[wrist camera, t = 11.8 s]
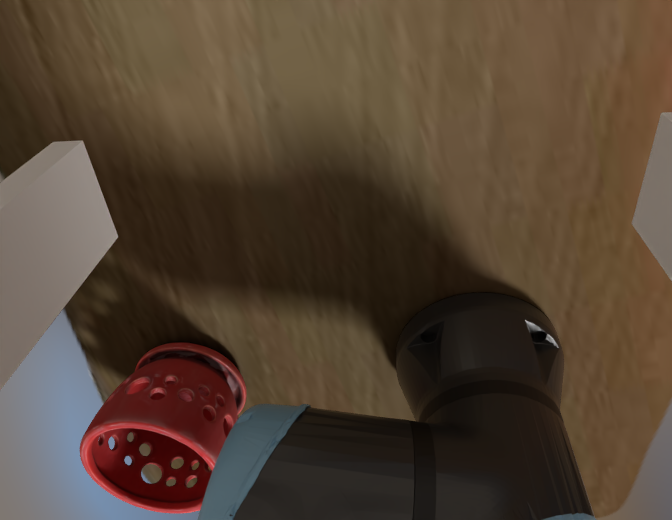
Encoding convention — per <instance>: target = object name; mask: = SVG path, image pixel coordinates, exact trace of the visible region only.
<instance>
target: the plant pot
mask: <svg viewBox="0 0 672 520" xmlns="http://www.w3.org/2000/svg"><path fill="white" fill-rule="evenodd" d="M245 401H246V386H245V382H244V380H243V377H242V375H241V374H240V372H239V370H238V369H237V368H236V367H235V365H234V364H233V363H232V362H231V361H230V360H229V359H227V358H226V357H225V356H223V355H222V354H220V353H218V352H217V351H215V350H213V349H210V348H208V347H205V346H202V345H198V344H193V343H185V342H178V343H168V344H164V345H161V346H158V347H155V348H153V349H152V350H150V351H148V352H147V353H146V354H145V355H144V356H143V357H142V358H141V359H140V360H139V362H138V364H137V366H136V369H135V372H134V373H133V374H131V375H130V376H129V377H128V378H127V379H126V380H124V381H123V382H122V383H121V384H120V385H119V386H118V387H117V388H116V390H115V391H114V392H113V393H112V394H111V395H110V397H109V398H108V399H107V400H106V402H105V403H104V404H103V406H102V407H101V409H100V410H99V411H98V413H97V414H96V416H95V417H94V419H93V420H92V422H91V424H90V425H89V427H88V429H87V431H86V432H85V434H84V436H83V438H82V441H81V444H80V457H81V461H82V463H83V466H84V468H85V469H86V471H87V473H88V474H89V475H90V476H91V478H92V479H93V480H94V481H95V482H96V483H97V484H98V485H100V486H101V487H102V488H103V489H105V490H106V491H107V492H109V493H110V494H112V495H113V496H115V497H117V498H119V499H121V500H123V501H125V502H127V503H129V504H132V505H134V506H137V507H140V508H144V509H147V510H151V511H156V512H163V513H190V512H195V511H199V510H200V509H201V505H202V502H203V498H204V495H205V492H206V489H207V486H208V483H209V480H210V477H211V474H212V471H213V469H214V466H215V463H216V461H217V458H218V456H219V453H220V451H221V449H222V447H223V444H224V442H225V440H226V438H227V436H228V434H229V432H230V431H231V429H232V427H233V426H234V424H235V423H236V421H237V420H238V414H239V413H240V412H241V410H242V409H243V407H244V405H245ZM130 432H132V433H133V435H134V439H133V441H132V442H129V441H128V440H127V435H128V434H129V433H130ZM111 436H112V437H113V438H114V440H115V446H114V448H113V449H112V450H111V449H110V448H109V444H108V440H109V438H110V437H111ZM99 437H100V438H99ZM98 440H99V441H98ZM144 443H145V444H147V445H149V447H150V449H151V452H150V454H149V455H148V456H143V455H142V454H141V453H140V451H139V447H140V446H141V444H144ZM126 456H130V457H131V459H132V463H131V465H127V464H125V462H124V459H125V457H126ZM176 458H181V459H183V460H184V464H183V466H182V467H181V468H179V469H173V468H172V467H171V463H172V461H173V460H174V459H176ZM196 462H199V467H198V468H197V469H196V470H192V466H193V465H194V464H195V463H196ZM147 464H154V465H157V466H158V467H159V468H160V469H161V471H162V477H161V479H160V480H159V481H158V482H157V483H154V484H149V483H146V482H145V481H143V479H142V477H141V470H142V468H143V467H144V466H145V465H147ZM208 465H209V467H210V468H211V471H209V469H208ZM195 477H197V483H196V484H195V485H194V486H193V487H191V488H188V487H187V483H188V482H189V480H191V479H192V478H195ZM169 479H175V480H176V484H175V485H173V486H170V487H169V486H167V485H166V482H167V481H168V480H169Z"/></svg>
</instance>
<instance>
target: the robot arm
mask: <svg viewBox="0 0 672 520" xmlns="http://www.w3.org/2000/svg"><path fill="white" fill-rule="evenodd" d="M632 225H633V226H634V228H635V229H636V231H637V232H638V234H639V235H640V236H641V238H642V239H643V241H644V242H645V244H646V245H647V246H648V248H649V249H650V251H651V252H652V254H653V255H654V256H655V258H656V259H657V261H658V262H659V264H660V265H661V266H662V268H663V269H664V271H665V272H666V274H667V275H668V276H669V278H670V279H671V281H672V112H669V113H661V116H660V120H659V124H658V127H657V131H656V135H655V139H654V142H653V146H652V150H651V154H650V157H649V161H648V165H647V169H646V172H645V176H644V180H643V184H642V187H641V191H640V195H639V199H638V203H637V206H636V210H635V214H634V218H633V221H632ZM117 238H118V235H117V232H116V229H115V227H114V224H113V221H112V218H111V216H110V213H109V210H108V208H107V205H106V202H105V199H104V197H103V194H102V191H101V189H100V186H99V183H98V180H97V178H96V175H95V172H94V170H93V167H92V164H91V161H90V159H89V156H88V153H87V151H86V148H85V145H84V142H83V140H82V141H61V142H52V143H51V144H50V145H49V146H47V147H46V148H45V149H43V150H42V151H41V152H39V153H38V154H37V155H36V156H34V157H33V158H32V159H30V160H29V161H28V162H26V163H25V164H24V165H22V166H21V167H20V168H19V169H17V170H16V171H15V172H13V173H12V174H11V175H9V176H8V177H7V178H6V179H4V180H3V181H2V182H0V390H1V388H2V387H3V386H4V385H5V383H6V382H7V381H8V379H9V378H10V377H11V375H12V374H13V373H14V372H15V370H16V369H17V368H18V366H19V365H20V364H21V363H22V361H23V360H24V359H25V357H26V356H27V355H28V354H29V352H30V351H31V350H32V348H33V347H34V346H35V344H36V343H37V342H38V341H39V339H40V338H41V337H42V335H43V334H44V333H45V331H46V330H47V329H48V327H49V326H50V325H51V324H52V322H53V321H54V320H55V318H56V317H57V316H58V314H59V313H60V312H61V311H62V309H63V308H64V307H65V305H66V304H67V303H68V302H69V300H70V299H71V298H72V296H73V295H74V294H75V293H76V291H77V290H78V289H79V287H80V286H81V285H82V283H83V282H84V281H85V280H86V278H87V277H88V276H89V274H90V273H91V272H92V270H93V269H94V268H95V267H96V265H97V264H98V263H99V261H100V260H101V259H102V257H103V256H104V255H105V254H106V252H107V251H108V250H109V248H110V247H111V246H112V244H113V243H114V242H115V241H116V239H117ZM396 370H397V377H398V381H399V384H400V386H401V389H402V391H403V393H404V395H405V398H406V400H407V402H408V404H409V406H410V409H411V411H412V413H413V415H414V418H415V420H416V421H409V420H403V419H394V418H385V417H377V416H369V415H362V414H354V413H347V412H339V411H331V410H324V409H316V408H311V406H310V405H308V404H302V405H301V406H288V405H274V404H259V405H255V406H253V407H251V408H249V409H248V410H246V411H245V412H244V413H243V414H242V415H241V416H240V417H239V418H238V420H237V421H236V423H235V424H234V426H233V427H232V429H231V431H230V432H229V434H228V436H227V438H226V440H225V442H224V444H223V447H222V449H221V451H220V453H219V456H218V458H217V461H216V463H215V466H214V469H213V471H212V474H211V477H210V480H209V483H208V486H207V489H206V492H205V495H204V498H203V502H202V505H201V509H200V512H199V517H198V520H596V519H595V517H594V514H593V511H592V508H591V505H590V502H589V499H588V495H587V492H586V489H585V486H584V483H583V480H582V477H581V474H580V471H579V468H578V465H577V462H576V459H575V456H574V453H573V450H572V446H571V443H570V440H569V437H568V434H567V431H566V428H565V426H564V422H563V419H562V416H561V413H560V403H561V392H562V382H563V372H564V356H563V351H562V347H561V344H560V342H559V339H558V336H557V333H556V331H555V328H554V327H553V325H552V323H551V322H550V320H549V319H548V318H547V317H546V316H545V315H544V314H543V313H542V312H541V311H540V310H538V309H537V308H536V307H534V306H532V305H531V304H529V303H527V302H525V301H523V300H520V299H517V298H514V297H511V296H507V295H502V294H496V293H469V294H462V295H457V296H453V297H450V298H447V299H444V300H441V301H439V302H436V303H434V304H432V305H430V306H429V307H427V308H425V309H424V310H422V311H421V312H419V313H418V314H417V315H416V316H415V317H414V318H413V319H412V320H411V321H410V322H409V323H408V324H407V325H406V327H405V328H404V330H403V331H402V333H401V335H400V337H399V340H398V343H397V349H396Z"/></svg>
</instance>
